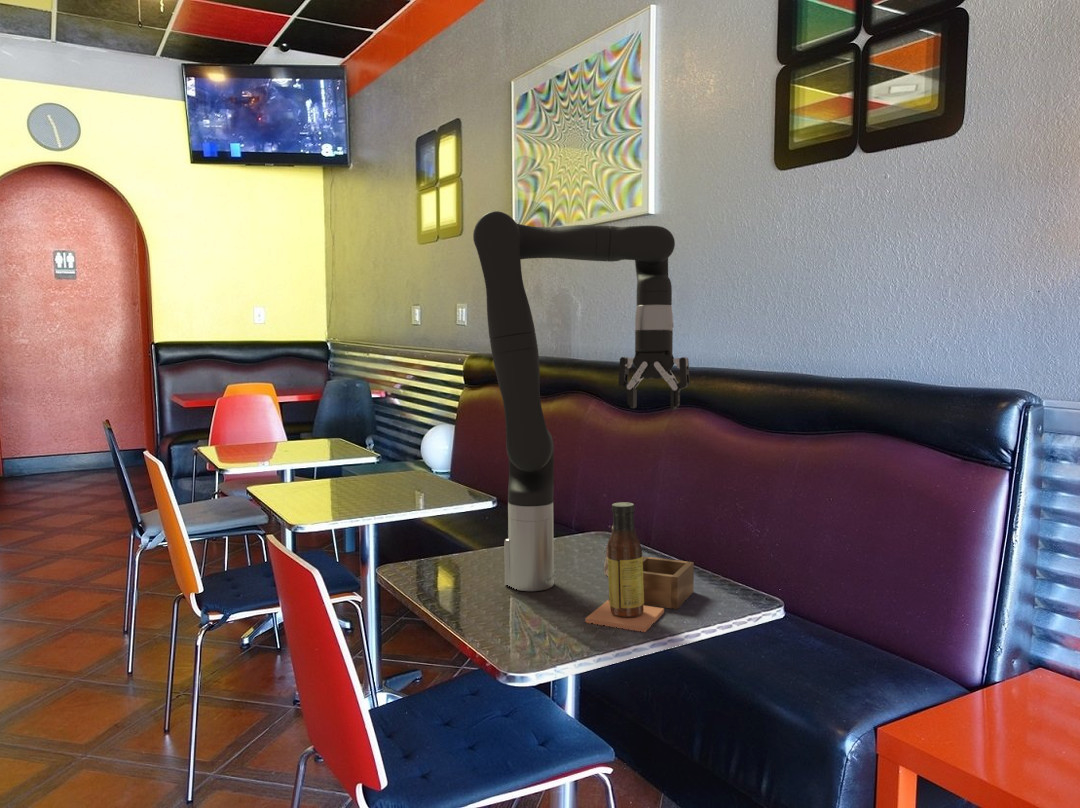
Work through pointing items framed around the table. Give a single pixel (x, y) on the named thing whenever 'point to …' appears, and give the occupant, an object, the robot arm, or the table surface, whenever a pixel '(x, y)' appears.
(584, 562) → the table surface
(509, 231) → the robot arm
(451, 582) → the table surface
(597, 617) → the terracotta mat
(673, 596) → the square holder
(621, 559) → the sauce bottle
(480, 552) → the table surface
